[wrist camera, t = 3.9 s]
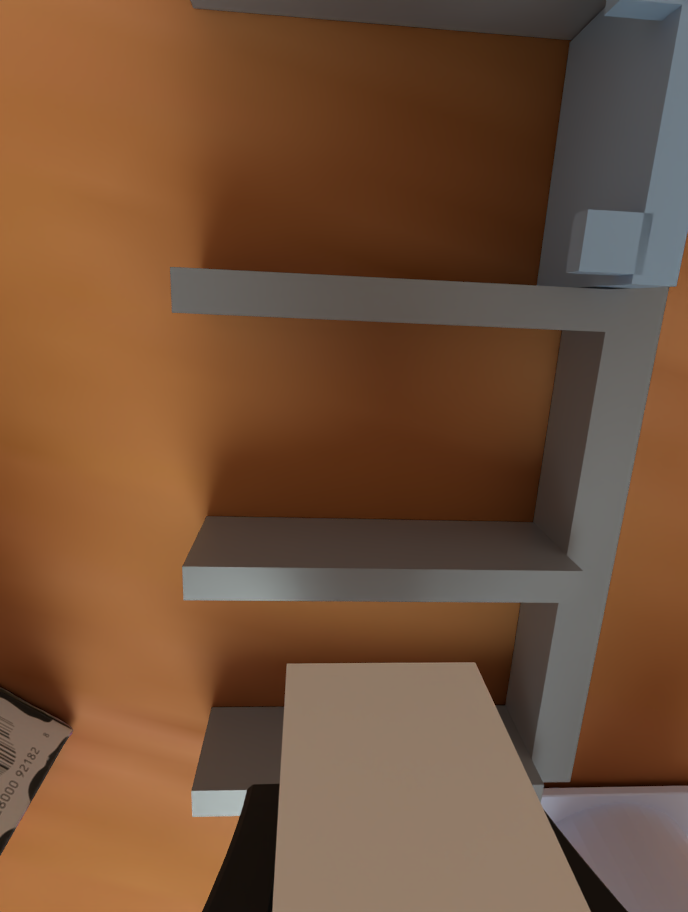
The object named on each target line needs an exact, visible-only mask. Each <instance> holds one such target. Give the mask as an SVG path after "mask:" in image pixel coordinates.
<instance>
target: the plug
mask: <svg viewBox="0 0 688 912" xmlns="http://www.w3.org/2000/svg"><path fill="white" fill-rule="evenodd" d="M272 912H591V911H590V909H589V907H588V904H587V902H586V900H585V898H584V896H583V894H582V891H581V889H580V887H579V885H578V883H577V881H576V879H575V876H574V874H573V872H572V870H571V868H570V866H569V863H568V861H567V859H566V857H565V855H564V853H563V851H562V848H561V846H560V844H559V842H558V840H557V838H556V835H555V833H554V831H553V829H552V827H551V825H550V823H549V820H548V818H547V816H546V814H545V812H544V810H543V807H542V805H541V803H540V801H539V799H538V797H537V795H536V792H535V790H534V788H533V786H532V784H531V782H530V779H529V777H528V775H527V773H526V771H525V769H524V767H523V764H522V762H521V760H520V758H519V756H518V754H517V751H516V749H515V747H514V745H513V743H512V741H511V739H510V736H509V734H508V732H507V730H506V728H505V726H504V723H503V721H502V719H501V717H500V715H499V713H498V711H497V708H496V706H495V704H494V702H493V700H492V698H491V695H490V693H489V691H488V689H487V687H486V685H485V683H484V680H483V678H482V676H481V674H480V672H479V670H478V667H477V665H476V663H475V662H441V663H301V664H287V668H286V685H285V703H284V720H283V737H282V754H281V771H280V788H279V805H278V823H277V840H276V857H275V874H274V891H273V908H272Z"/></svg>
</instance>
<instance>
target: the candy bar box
mask: <svg viewBox="0 0 688 912" xmlns="http://www.w3.org/2000/svg"><path fill="white" fill-rule="evenodd" d="M72 732H73V729H72V727H71V726H70V725H68V724H66V723H65V722H63V721H61V720H60V719H58V718H56V717H54V716H52V715H50V714H48V713H47V712H45V711H43V710H41V709H39V708H37V707H35V706H33V705H31V704H29V703H27V702H26V701H24V700H22V699H20V698H18V697H16V696H15V695H13V694H12V693H11V692H9V691H7V690H5V689H3V688H1V687H0V855H1V853H2V852H3V850H4V848H5V846H6V845H7V843H8V841H9V839H10V838H11V836H12V834H13V832H14V831H15V829H16V827H17V826H18V824H19V822H20V820H21V819H22V817H23V815H24V813H25V812H26V810H27V808H28V807H29V805H30V803H31V801H32V799H33V798H34V796H35V794H36V792H37V791H38V789H39V787H40V786H41V784H42V782H43V780H44V779H45V777H46V775H47V773H48V772H49V770H50V768H51V766H52V765H53V763H54V761H55V759H56V758H57V756H58V754H59V752H60V750H61V749H62V747H63V745H64V744H65V742H66V741H67V739H68V738H69V736H70V735H71V734H72Z"/></svg>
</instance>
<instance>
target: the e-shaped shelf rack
mask: <svg viewBox="0 0 688 912" xmlns="http://www.w3.org/2000/svg"><path fill="white" fill-rule="evenodd" d="M190 1H191V3H192V6H193V8H197V9H209V10H221V11H232V12H244V13H256V14H268V15H279V16H291V17H303V18H315V19H326V20H338V21H350V22H362V23H374V24H385V25H397V26H409V27H421V28H432V29H444V30H456V31H468V32H479V33H491V34H503V35H515V36H526V37H538V38H550V39H562V40H572V41H571V42H570V45H569V52H568V60H567V67H566V74H565V82H564V89H563V96H562V104H561V111H560V118H559V126H558V133H557V140H556V148H555V155H554V163H553V170H552V177H551V185H550V192H549V199H548V207H547V214H546V221H545V229H544V236H543V243H542V251H541V258H540V265H539V273H538V280H537V286H536V285H516V284H496V283H476V282H457V281H437V280H417V279H398V278H378V277H358V276H339V275H319V274H299V273H280V272H260V271H240V270H221V269H201V268H181V267H170V275H171V300H172V313H193V314H215V315H238V316H260V317H282V318H305V319H327V320H349V321H372V322H394V323H416V324H438V325H461V326H483V327H505V328H528V329H550V330H562V335H561V342H560V348H559V355H558V362H557V368H556V375H555V381H554V388H553V395H552V401H551V408H550V414H549V421H548V428H547V434H546V441H545V447H544V454H543V460H542V467H541V474H540V480H539V487H538V493H537V500H536V507H535V513H534V520H533V522H500V521H445V520H390V519H335V518H280V517H225V516H207V517H206V519H205V521H204V523H203V525H202V527H201V529H200V531H199V533H198V535H197V537H196V539H195V541H194V543H193V546H192V548H191V550H190V552H189V554H188V556H187V558H186V560H185V562H184V564H183V566H182V571H183V595H184V600H236V601H377V602H517V603H521V606H520V612H519V619H518V625H517V632H516V639H515V645H514V652H513V658H512V665H511V672H510V678H509V685H508V691H507V698H506V705H495V706H496V708H497V711H498V713H499V715H500V717H501V719H502V721H503V723H504V726H505V728H506V730H507V732H508V734H509V736H510V739H511V741H512V743H513V745H514V747H515V749H516V751H517V754H518V756H519V758H520V760H521V762H522V764H523V767H524V769H525V771H526V773H527V775H528V777H529V779H530V782H531V784H532V786H533V788H534V790H535V792H536V795H537V797H538V799H539V801H540V803H541V799H542V794H543V788H544V783H543V782H570V780H571V775H572V770H573V765H574V760H575V755H576V750H577V745H578V740H579V735H580V730H581V725H582V720H583V715H584V710H585V705H586V700H587V695H588V690H589V685H590V680H591V675H592V670H593V665H594V660H595V655H596V650H597V645H598V640H599V635H600V630H601V625H602V620H603V615H604V610H605V605H606V600H607V595H608V590H609V585H610V580H611V575H612V570H613V565H614V560H615V555H616V550H617V545H618V540H619V535H620V530H621V525H622V520H623V515H624V510H625V505H626V500H627V495H628V490H629V485H630V480H631V475H632V470H633V465H634V460H635V455H636V450H637V445H638V440H639V435H640V430H641V425H642V420H643V415H644V410H645V405H646V400H647V395H648V390H649V385H650V380H651V375H652V370H653V365H654V360H655V355H656V350H657V345H658V340H659V335H660V330H661V325H662V320H663V315H664V310H665V305H666V300H667V295H668V290H669V287H675V286H677V281H678V276H679V271H680V266H681V261H682V256H683V251H684V246H685V242H686V237H687V232H688V0H190ZM283 720H284V707H212V708H211V712H210V717H209V721H208V725H207V729H206V733H205V737H204V741H203V745H202V750H201V754H200V758H199V762H198V766H197V770H196V774H195V778H194V783H193V787H192V791H191V792H192V817H205V816H240V814H241V811H242V808H243V804H244V800H245V796H246V792H247V789H248V788H249V787H250V786H252V785H253V784H280V771H281V754H282V737H283Z"/></svg>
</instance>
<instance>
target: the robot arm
mask: <svg viewBox="0 0 688 912" xmlns="http://www.w3.org/2000/svg"><path fill="white" fill-rule="evenodd" d="M279 788H280V784H253V785H252V786H250V787H249V788H248V789H247V792H246V796H245V800H244V804H243V808H242V811H241V814H240V817H239V821H238V824H237V827H236V829H235V832H234V835H233V838H232V841H231V843H230V846H229V849H228V851H227V854H226V857H225V859H224V862H223V864H222V866H221V869H220V871H219V874H218V876H217V878H216V881H215V883H214V885H213V888H212V890H211V892H210V895H209V897H208V900H207V902H206V904H205V906H204V909H203V911H202V912H272V908H273V891H274V874H275V857H276V840H277V823H278V805H279ZM541 805H542V807H543V810H544V812H545V814H546V816H547V818H548V820H549V823H550V825H551V827H552V829H553V831H554V833H555V835H556V838H557V840H558V842H559V844H560V846H561V848H562V851H563V853H564V855H565V857H566V859H567V861H568V863H569V866H570V868H571V870H572V872H573V874H574V876H575V879H576V881H577V883H578V885H579V887H580V889H581V891H582V894H583V896H584V898H585V900H586V902H587V904H588V907H589V909H590V911H591V912H688V786H634V787H580V788H543V794H542V799H541Z"/></svg>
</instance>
